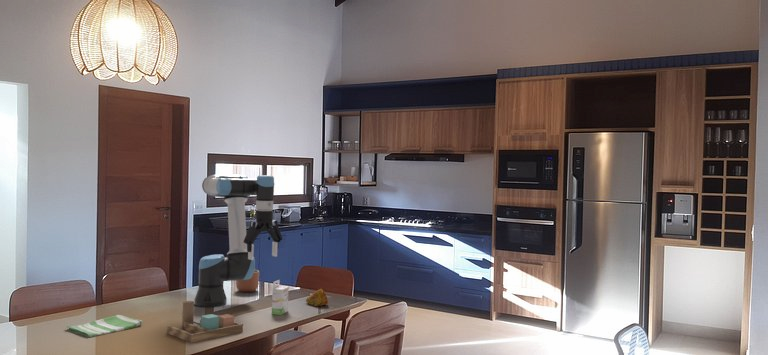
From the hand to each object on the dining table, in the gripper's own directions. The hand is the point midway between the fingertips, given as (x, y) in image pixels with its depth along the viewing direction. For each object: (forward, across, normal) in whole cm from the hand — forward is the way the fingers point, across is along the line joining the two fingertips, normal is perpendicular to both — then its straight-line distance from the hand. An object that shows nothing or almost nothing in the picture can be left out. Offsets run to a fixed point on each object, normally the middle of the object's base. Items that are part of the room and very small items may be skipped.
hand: (262, 257), depth 260 cm
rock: (+28, +38, +1) cm, 47 cm away
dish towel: (+28, -54, +32) cm, 68 cm away
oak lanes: (+27, -31, -3) cm, 41 cm away
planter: (+28, +33, +50) cm, 66 cm away
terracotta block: (+27, -24, -6) cm, 36 cm away
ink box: (+27, +12, +1) cm, 30 cm away
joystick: (+27, -31, +2) cm, 41 cm away
